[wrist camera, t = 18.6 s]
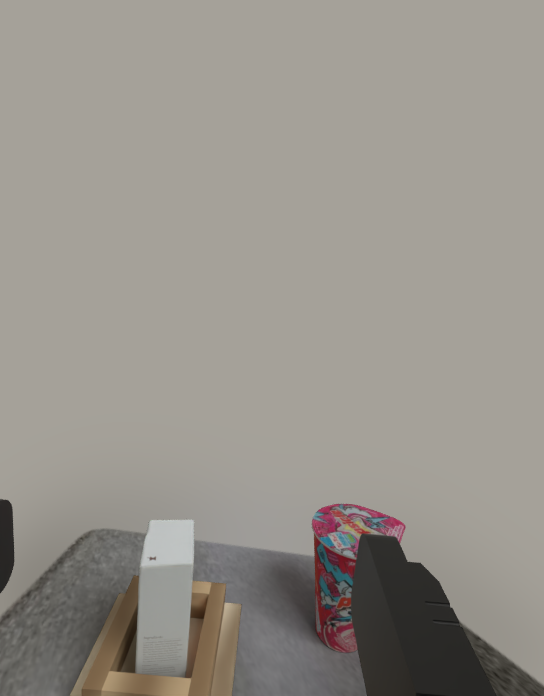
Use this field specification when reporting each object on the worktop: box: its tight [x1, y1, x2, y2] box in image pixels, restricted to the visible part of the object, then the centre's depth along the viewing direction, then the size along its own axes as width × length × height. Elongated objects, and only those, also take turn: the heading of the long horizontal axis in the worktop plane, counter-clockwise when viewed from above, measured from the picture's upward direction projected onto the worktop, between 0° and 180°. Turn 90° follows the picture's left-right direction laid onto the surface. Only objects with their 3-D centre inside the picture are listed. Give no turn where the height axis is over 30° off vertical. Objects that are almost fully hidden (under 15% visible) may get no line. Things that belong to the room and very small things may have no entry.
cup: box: [312, 504, 405, 653], centre depth 42 cm, size 9×8×12 cm
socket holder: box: [70, 575, 241, 696], centre depth 37 cm, size 13×13×4 cm
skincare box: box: [135, 520, 194, 678], centre depth 36 cm, size 6×4×12 cm
